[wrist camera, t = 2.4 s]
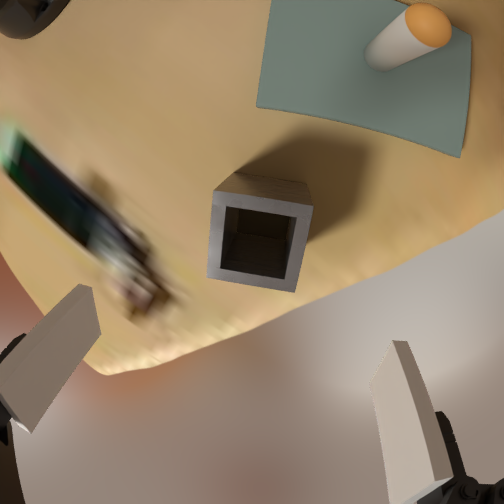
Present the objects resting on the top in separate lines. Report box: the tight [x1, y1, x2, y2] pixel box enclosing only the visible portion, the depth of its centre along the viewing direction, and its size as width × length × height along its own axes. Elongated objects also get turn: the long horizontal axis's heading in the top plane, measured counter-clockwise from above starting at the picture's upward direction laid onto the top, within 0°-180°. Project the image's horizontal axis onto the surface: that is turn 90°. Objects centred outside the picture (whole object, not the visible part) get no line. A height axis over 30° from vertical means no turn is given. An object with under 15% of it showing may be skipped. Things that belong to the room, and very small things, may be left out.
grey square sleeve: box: [207, 173, 314, 293], centre depth 25 cm, size 7×7×8 cm
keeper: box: [256, 0, 471, 158], centre depth 15 cm, size 20×14×14 cm
